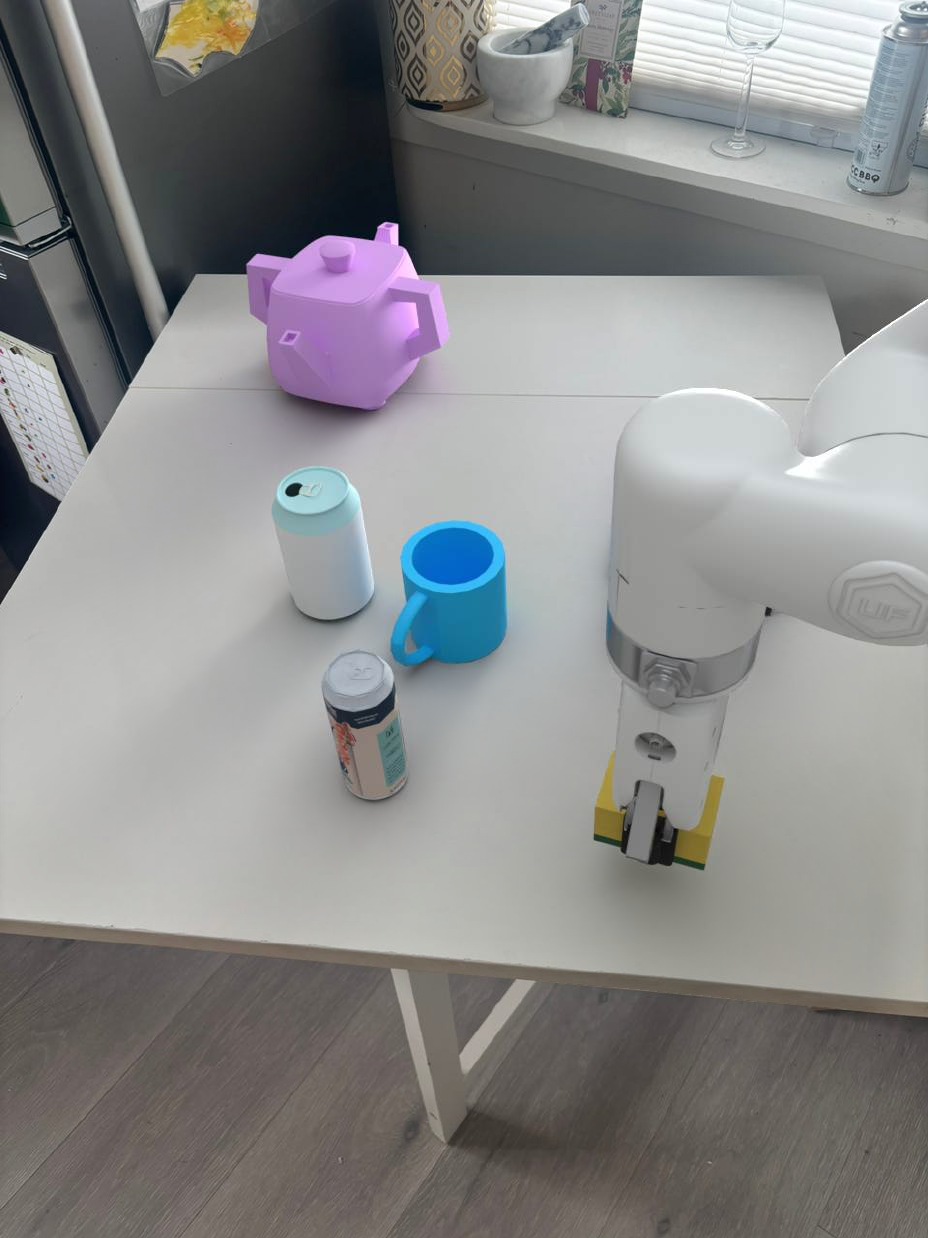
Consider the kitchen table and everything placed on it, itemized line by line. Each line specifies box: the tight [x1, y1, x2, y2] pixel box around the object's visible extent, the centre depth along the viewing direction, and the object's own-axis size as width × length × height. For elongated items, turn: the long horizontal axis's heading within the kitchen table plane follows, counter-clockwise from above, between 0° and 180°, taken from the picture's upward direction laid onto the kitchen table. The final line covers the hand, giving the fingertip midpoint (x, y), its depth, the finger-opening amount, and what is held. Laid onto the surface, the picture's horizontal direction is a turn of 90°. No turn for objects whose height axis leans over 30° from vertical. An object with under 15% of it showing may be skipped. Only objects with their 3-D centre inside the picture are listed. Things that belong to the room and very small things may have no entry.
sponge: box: [592, 749, 725, 871], centre depth 62 cm, size 7×4×4 cm, turn 70°
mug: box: [390, 519, 508, 667], centre depth 79 cm, size 12×8×8 cm
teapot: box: [245, 221, 451, 411], centre depth 103 cm, size 19×18×15 cm
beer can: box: [320, 648, 409, 801], centre depth 69 cm, size 5×5×12 cm
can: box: [271, 465, 375, 620], centre depth 82 cm, size 7×7×12 cm
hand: (656, 820), depth 63 cm, fingers closed on sponge, 4 cm apart
